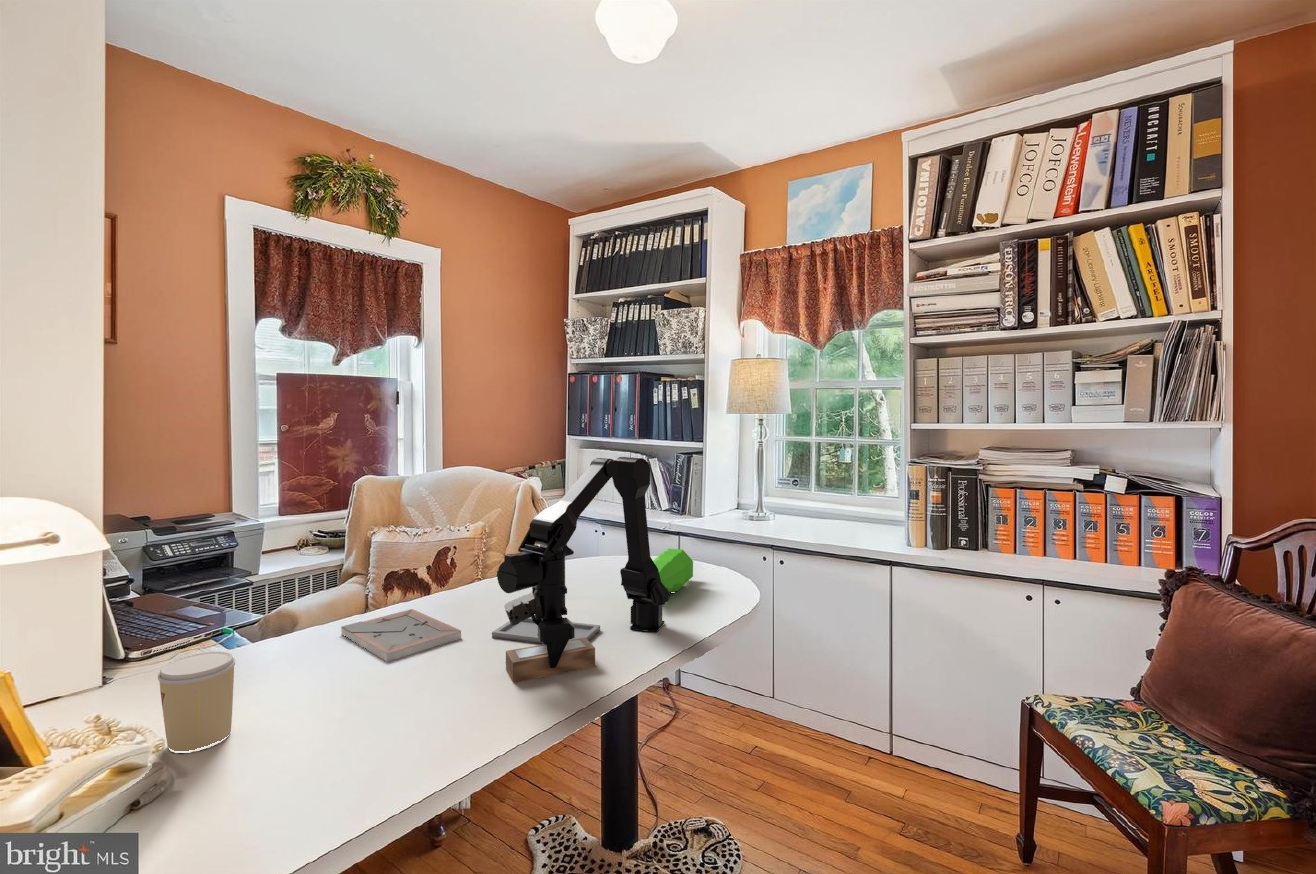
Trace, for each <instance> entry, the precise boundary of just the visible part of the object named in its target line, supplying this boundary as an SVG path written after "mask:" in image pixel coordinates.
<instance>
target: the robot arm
mask: <svg viewBox="0 0 1316 874" xmlns="http://www.w3.org/2000/svg"><path fill="white" fill-rule="evenodd" d="M610 479H612V482H613V486H614V488H615V490H616V491H617V493H618V495H619V496H620V497H621V500H622V509H623V510H622V511H623V519H624V528H625V538H626V547H627V557H628V559H627V562H626V564H625V565H624V567H622V568H620V571H619V572H620V578H621V581H620V582H621V584H620V586H622V587H623V589H624V592H625V594H626V597H627V600H632V605H631V606H630V627H629V629H630V630H633V631H643V632H651V633H658V630H659V631H660V629H662V627H663V626H664V625H665V620H663V606H664V605H665V604H666V602H669V599H670V594H671V593H670V592H669V591H668V590H667V588H666V587H665V586H664V585H663V584H662V582H661V579H660V575H659V570H658V568H657V566H656V565H655V563H654V562H653V561H654V559H653V558H652V557H651V549H650V540H649V539H650V538H649V530H648V519H647V518H648V517H647V509H646V508H647V507H646V499H645V498H646V497H645V496H646V494H647V492H648V489H649V487H650V485H651V466H650V463H649V462H648V461H647V460H646V459H645V458H642V457H631V456H630V457H628V456H619V457H616V459H615V460H614V459H612V458H607V457H596V458H594V459H592V460H591V462H590V464H589V467H587V469H586V470H585V471H584V472H583V473H582V475H581V476H579V478H578V479H577V481H575V483H574V484H573V485H572V486H571V487H570V488H569V489H568V490H567V492H566V493H565V494H564V496H563V497H562V498H561V499H560V500H559V501H557V502H556V503H555V504H552V505H550V506H548V507H545V508H544V509H543V510H542V511H540V513H538V514H537V515H536V516H535V517H534V518H532V520H531V521H530V523H529V526H528V527H529V528H528V530H527V532H526V534H525V535H524V538H523V539H522V541H521V543H520V545H519V547H518V550H517V553H507V554H505V555H504V557H503V560H504V561H502V562H501V563H500V565H499V567H498V569H497V571H496V572H497V573H496V576H497V577H496V578H497V583H498V585H499V587H500V589H501V590H502V591H503V592H504V593H506V594H512V593H516V592H520V591H522V590H526V589H530V588H532V589H531V592H530V593H527V594H524V595H521V596H519V597H517V598H514V599H513V600H510V601H509V602H508V601H507V602H506V603H505V604H504V605H503V606H504V611H505V613H506V615H507V618H508V622H509V621H510V623H511V625H512V626H514V625H517V624H519V622H521V621H523V620H526V619H528V618H530V617H531V618H532V621H533V622H534V623H535V624H536V625H537V626H538V634H537V635H538V638H539V640H540V642H543V644H546V648H547V654H548V659H549V664H550V668H555V667H556V666H557V664H558V662H559V660H560V657H561V655H562V653H563V651H564V649H565V647H566V645H567V643H568V641H569V639H573V638H575V632H574V626H573V624H572V622H573V621H571V620H570V619H569V618H568V617H563V616H566V615H567V616H568V608H567V606H566V595H567V594H568V588H567V585H566V557H568V556H572V555H574V553H575V552H574V550H573V549H572V548H570V547H569V546H568V543H569V541H570V539H571V538H572V536H573V534H574V533H575V531H576V529H577V524H578V519H579V518H580V516H581V515H582V513H583V512H584V511H585V509H587V507H588V506H589V505H590V504H591V502H592V501H593V500H595V497H597V495H598V494H599V493H600V491H602V489H604V486H605V485H606V484H607V483H608V482H609V480H610ZM536 544H537V545H536ZM663 624H664V625H663ZM662 625H663V626H662ZM661 626H662V627H661ZM543 644H542V645H543Z"/></svg>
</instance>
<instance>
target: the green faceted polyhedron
mask: <svg viewBox="0 0 1316 874" xmlns="http://www.w3.org/2000/svg"><path fill="white" fill-rule="evenodd" d="M653 562H654V563H655V565H656V566H657V568H658V570H659V575H660V579H661V582H662V584H663V585H664V586H665V587H666V588H667V590H668V591H669V592H675V591H677V592H678V591H679V590H680V589H681V588H682V587H684V586H685V584H686V583H687V582H689V580H691V579H692V578H693V577H694V560H693V559H692V558H691V557H690V556H689V555H688V554H687V553H686V551H685V550H684V549H679V548H667V549H666V550H663V552H661V554H659V555H658V556H657V557H655V558H654V559H653Z"/></svg>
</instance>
